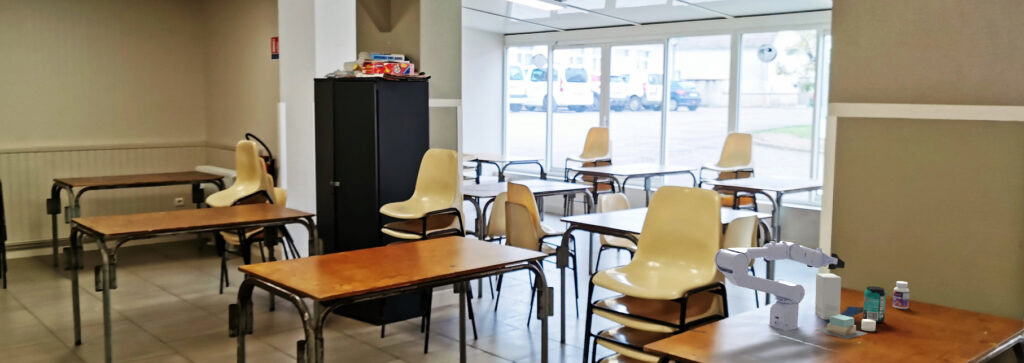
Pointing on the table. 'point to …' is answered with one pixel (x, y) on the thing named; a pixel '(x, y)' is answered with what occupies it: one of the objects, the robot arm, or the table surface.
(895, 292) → the pill bottle
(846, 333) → the bottom block
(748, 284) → the robot arm
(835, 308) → the skincare box
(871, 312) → the beverage can
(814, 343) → the table surface
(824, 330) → the mat
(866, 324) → the white short cylinder
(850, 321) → the top block
